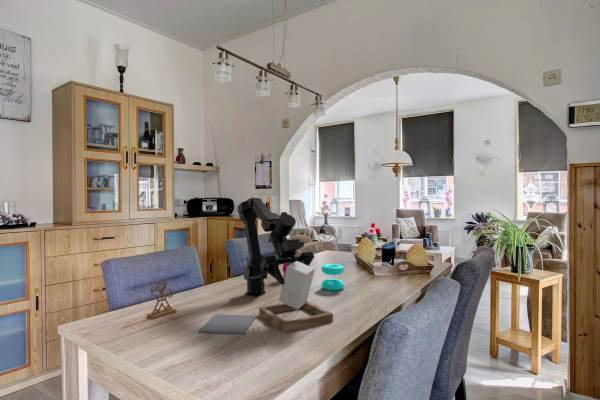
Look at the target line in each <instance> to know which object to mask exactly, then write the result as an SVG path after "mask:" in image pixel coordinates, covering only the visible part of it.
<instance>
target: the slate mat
mask: <svg viewBox="0 0 600 400" xmlns="http://www.w3.org/2000/svg"><path fill="white" fill-rule="evenodd" d="M256 318H257V316H256V315H248V314H246V315H244V314H219V313H217V314H216V313H215V314H214V315H213V316H212V317H211V318H210V319H209V320H208V321H206V323H205V324H204V325H202V326H201V327H200V329H198V333H203V334H206V333H207V334H223V335H224V334H225V335H226V334H227V335H228V334H229V335H230V334H231V335H245V334H246V333H247V331H248V329H249V328H250V327H251V326H252V323H254V321H255V320H256Z"/></svg>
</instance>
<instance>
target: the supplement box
mask: <svg viewBox="0 0 600 400" xmlns="http://www.w3.org/2000/svg"><path fill="white" fill-rule="evenodd" d="M315 269H316V268H315V267H312V266H311V265H309V266H308V265H305V264H303V263H301V262H298V261H296V262H294V263H292V264H290V265H288V266H287V269H286V273H285V277H284V278H283V280H284V285H282V284H281V290H280V295H279V299H278V302H281V303H285V304H287V305H289V306H291V307H293V308H295V309H294V310H300V309H301V308H300V307H301V306H302V305H304V304H305V303H306V302H307V301H308V297H309V294H310V290H311V286H312V281H313V278H314V274H315Z"/></svg>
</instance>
